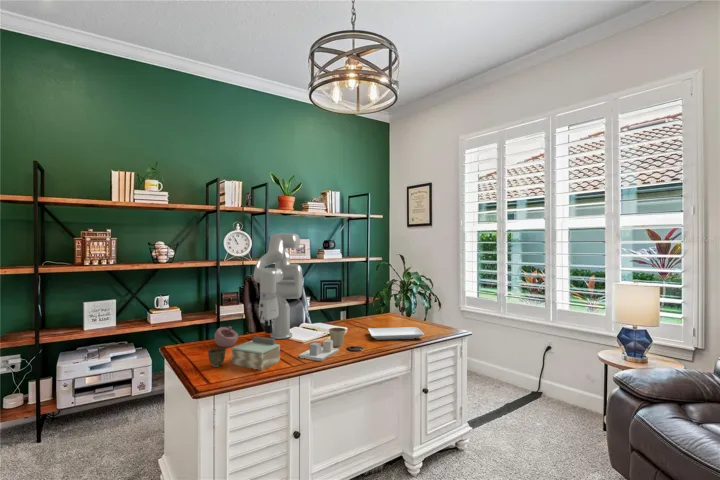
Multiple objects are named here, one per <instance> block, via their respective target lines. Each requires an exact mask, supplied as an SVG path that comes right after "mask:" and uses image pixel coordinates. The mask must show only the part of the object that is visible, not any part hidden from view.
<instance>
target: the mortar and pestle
mask: <svg viewBox="0 0 720 480" xmlns="http://www.w3.org/2000/svg"><path fill="white" fill-rule="evenodd" d="M232 328H233V327H232V326H230V325H229V326H228V327H227V326H220V327H219V328H217V329H216V330H215V333H214V342H215V344H217V346H218V347H220V348H222V347H223V348H232V347H234V345H235V344H236V343H237V342H238V339H239V334H238V332H237V331H235V330H234V329H232Z"/></svg>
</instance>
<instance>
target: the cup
mask: <svg viewBox="0 0 720 480" xmlns="http://www.w3.org/2000/svg"><path fill="white" fill-rule="evenodd" d="M226 351H227V350H226V347H220V346H218V347H216V348H215V347H214V348H210V349H208V350H207V355H208V361H209V362H210V364H211V366H212V367H213V368H219V367H221V366H222V364H223V363H224V361H225V357H226Z"/></svg>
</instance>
